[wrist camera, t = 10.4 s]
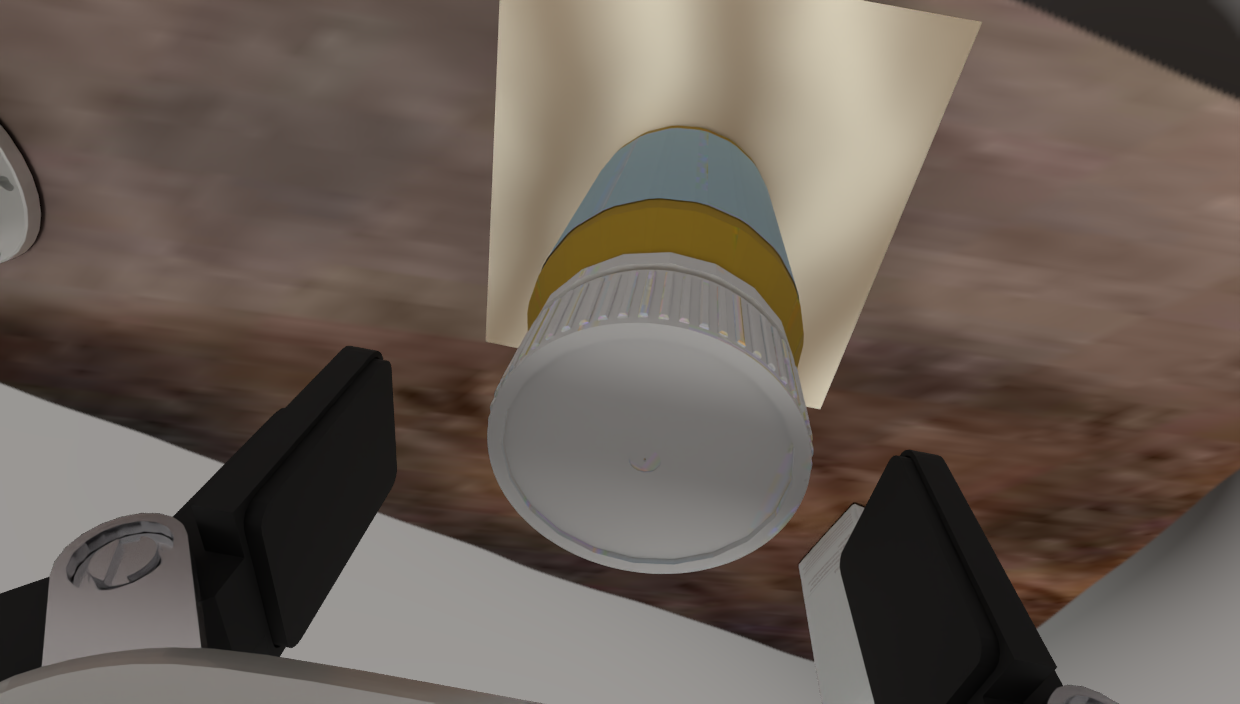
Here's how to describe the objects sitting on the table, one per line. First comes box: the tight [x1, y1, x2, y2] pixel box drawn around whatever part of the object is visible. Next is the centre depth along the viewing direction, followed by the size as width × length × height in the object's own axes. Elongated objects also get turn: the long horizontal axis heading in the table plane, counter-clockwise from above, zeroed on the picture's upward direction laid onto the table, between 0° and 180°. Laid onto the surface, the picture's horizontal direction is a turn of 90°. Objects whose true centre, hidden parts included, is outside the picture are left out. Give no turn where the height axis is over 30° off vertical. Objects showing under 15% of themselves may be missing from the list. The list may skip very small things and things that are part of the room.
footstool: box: [486, 0, 982, 409], centre depth 27 cm, size 16×16×8 cm
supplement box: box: [799, 504, 874, 704], centre depth 37 cm, size 7×7×13 cm
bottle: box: [487, 126, 813, 574], centre depth 18 cm, size 7×7×15 cm
